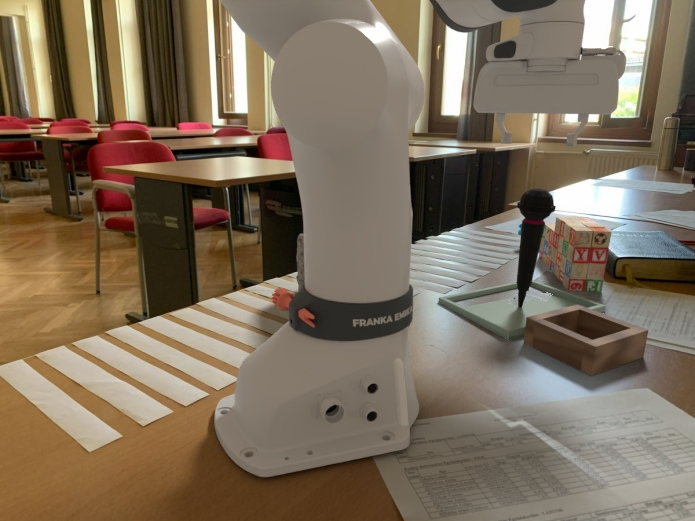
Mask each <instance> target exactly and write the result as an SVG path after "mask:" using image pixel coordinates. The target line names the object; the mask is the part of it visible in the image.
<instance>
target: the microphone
mask: <svg viewBox="0 0 695 521" xmlns="http://www.w3.org/2000/svg"><path fill="white" fill-rule="evenodd" d="M554 203H555V202H554V197H553V195H552V194H551V193H550V192H549V191H548V190H546V189H542V188H530V189H528V190H527V191H525V192H524V193H523V194H522V195H521V197H520V200H519V201H518V202H517V205H516V208H517V209H518V210H519V212H520V214H521V215H522V216H523V217H524V218H523V219H521V223H522V228H520V229H521V235H520V240H519V251H518V264H517V273H516V282H517V288H516V289H517V291H518V292H517V293H518V294H517V297H518V307H522V305H523V302H524V300H525V297H526V295H527V292H529V291H530V287H532V286H531V283H532V280H533V278H534V273H535V269H536V265H537V260H538V257H539V253H538V252H539V248H540V244H541V239H542V235H543V230H544V226H545V223H546V222H545V219H547V218H549V217H550V215H551V214H552V213H554V212H556V207H557V206H556V205H555V204H554Z"/></svg>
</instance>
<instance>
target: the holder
mask: <svg viewBox="0 0 695 521" xmlns="http://www.w3.org/2000/svg"><path fill="white" fill-rule="evenodd" d="M648 334H649V329H647V328H643V327H640V326H638V325H635V324H632V323H629V322H627V321H624V320H622V319H619V318H616V317H613V316H611V315H608V314H606V313H605V314H603V313H600V312H597V311H595V310H592V309H589V308H586V307H584V306H581V305H578V304H577V305H573V306H569V307H565V308H561V309H557V310H553V311H549V312H545V313H541V314H537V315H533V316H529V317H526V326H525V335H524V336H523V344H525V345H527V346H529V347H531V348H532V349H535V350H537V351H539V352H541V353H543V354H545V355H548V356H549V357H552V358H554V359H556V360H558V361H560V362H562V363H564V364H566V365H568V366H570V367H572V368H574V369H576V370H578V371H580V372H582V373H583V374H584V373H585V374H587V375H589V376H591V377H592V376H595V375H597V374H600V373H603V372H606V371H609V370H612V369H614V368H617V367H619V366H623V365H626V364H628V363H631V362H634V361H636V360H637V361H638V360H639V359H642V358H644V356H645V352H646V346H647V340H648Z"/></svg>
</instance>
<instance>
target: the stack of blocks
mask: <svg viewBox="0 0 695 521" xmlns="http://www.w3.org/2000/svg"><path fill="white" fill-rule="evenodd" d="M611 237H612V231H611V230H609V229H607V228H606V226H604V225H602V224H601V223H598V222H596V221H594V220H592V219H590V218H589V217H582V216H581V217H578V216H577V217H574V216H572V217H571V216H570V217H569V216H568V217H567V216H556V217H555V222H545V226H544V230H543V235H542V239H541V244H540V253H538V257H539V258H540V260H541V261H542V263H544V264H545V266H547V268H548V269H549V270H550V271H551V272H552V273H553V274H554V276H555V277H556V278H557V280H559V282H561V284H562V286H563V287H564V288H565V289H566V290H567V291H576V290H578V291H580V292H592V291H595V292H597V293H598V292H599V293H602V291H603V285H604V281H605V280H604V278H605V276H604V275H605V272H606V265H607V262H608V257H609V256H608V255H609V250H610V249H609V248H610V243H611Z"/></svg>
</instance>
